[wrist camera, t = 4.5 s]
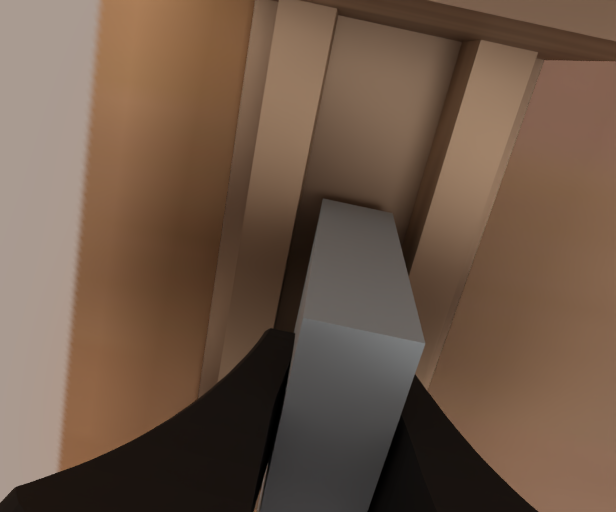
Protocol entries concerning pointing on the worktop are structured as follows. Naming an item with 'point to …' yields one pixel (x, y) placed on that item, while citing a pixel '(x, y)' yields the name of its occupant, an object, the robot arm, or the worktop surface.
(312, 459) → the grey rectangular block
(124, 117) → the worktop surface
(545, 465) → the worktop surface
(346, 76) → the sill track
